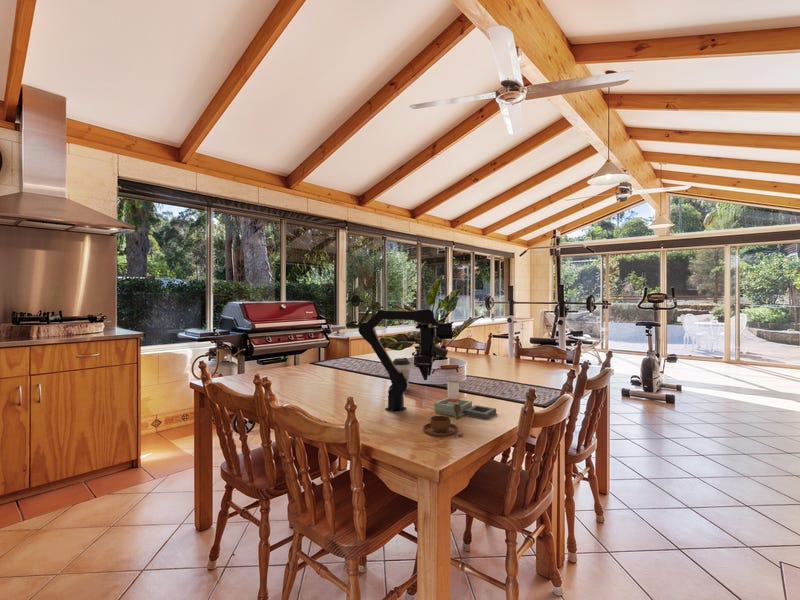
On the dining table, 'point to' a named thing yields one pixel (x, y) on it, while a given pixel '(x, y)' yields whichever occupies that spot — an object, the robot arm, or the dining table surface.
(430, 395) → the dining table surface
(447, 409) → the parts tray
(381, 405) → the dining table surface
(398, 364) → the coffee cup
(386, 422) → the dining table surface
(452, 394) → the fuse
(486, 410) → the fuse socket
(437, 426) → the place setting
